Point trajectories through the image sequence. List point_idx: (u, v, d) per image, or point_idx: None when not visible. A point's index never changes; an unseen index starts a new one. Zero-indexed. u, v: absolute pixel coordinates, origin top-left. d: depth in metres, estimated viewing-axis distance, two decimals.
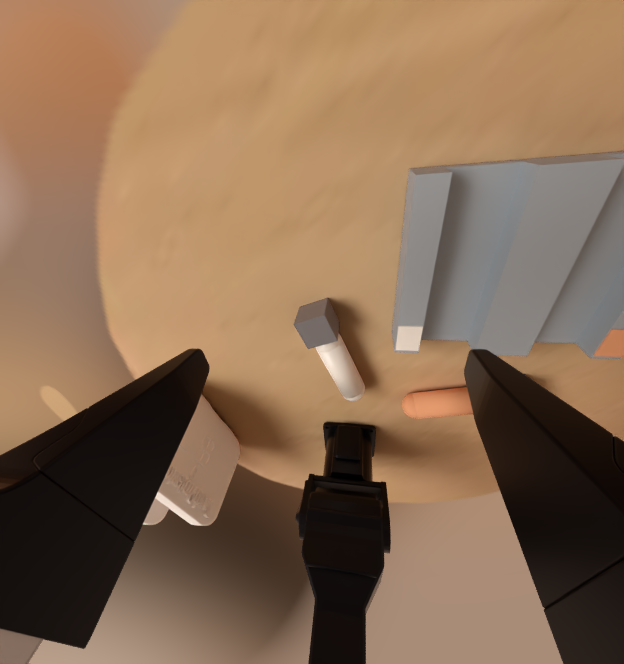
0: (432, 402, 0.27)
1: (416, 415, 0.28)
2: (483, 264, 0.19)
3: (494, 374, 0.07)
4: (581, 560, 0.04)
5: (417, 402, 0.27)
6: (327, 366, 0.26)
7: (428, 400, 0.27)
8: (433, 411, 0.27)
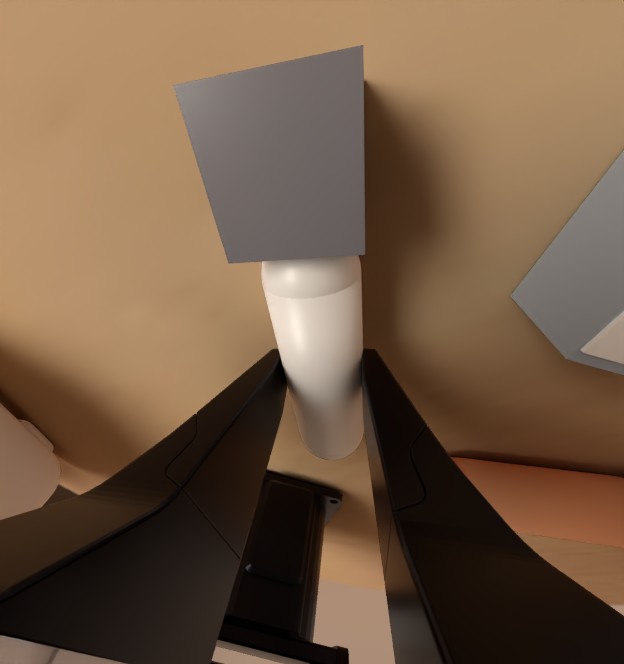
0: (517, 500, 0.11)
1: None
2: None
3: (365, 372, 0.07)
4: (385, 534, 0.05)
5: (479, 491, 0.11)
6: (285, 353, 0.08)
7: (507, 492, 0.11)
8: (514, 523, 0.11)
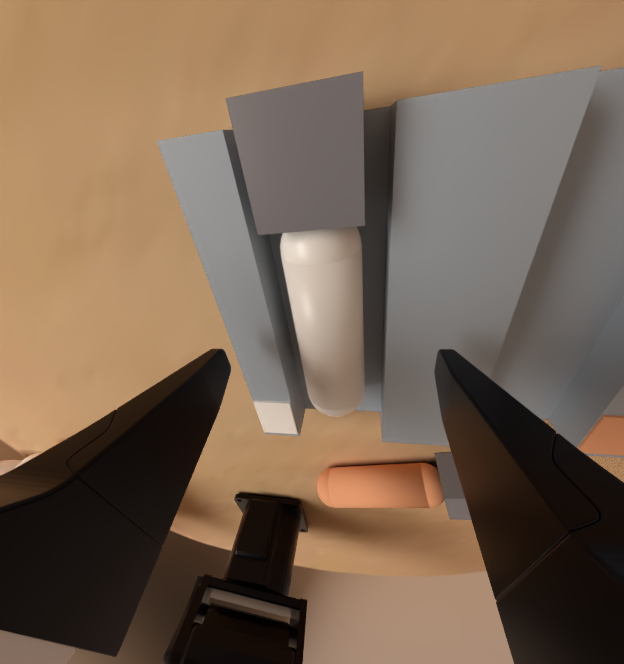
0: (351, 489, 0.19)
1: (333, 504, 0.19)
2: (371, 303, 0.11)
3: (456, 373, 0.07)
4: (521, 552, 0.05)
5: (332, 487, 0.19)
6: (299, 316, 0.09)
7: (346, 485, 0.19)
8: (354, 502, 0.18)
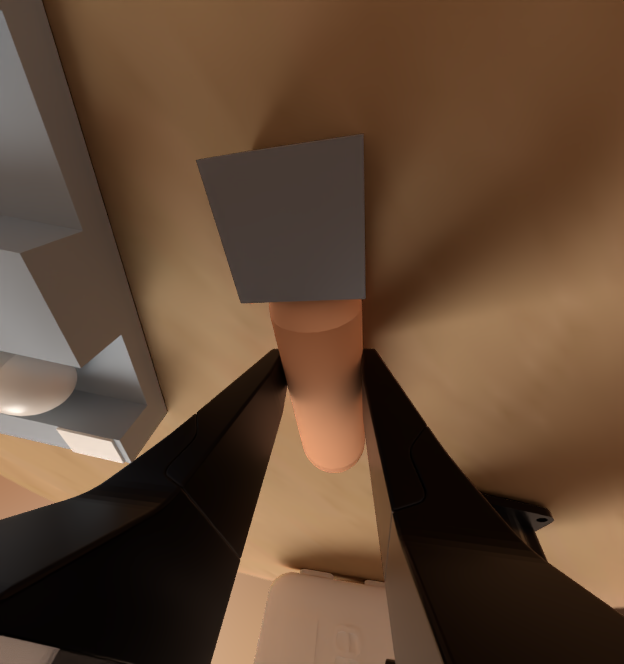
0: (298, 426, 0.10)
1: (331, 465, 0.10)
2: None
3: (365, 372, 0.07)
4: (385, 534, 0.05)
5: (302, 444, 0.11)
6: None
7: (298, 426, 0.10)
8: (316, 441, 0.10)
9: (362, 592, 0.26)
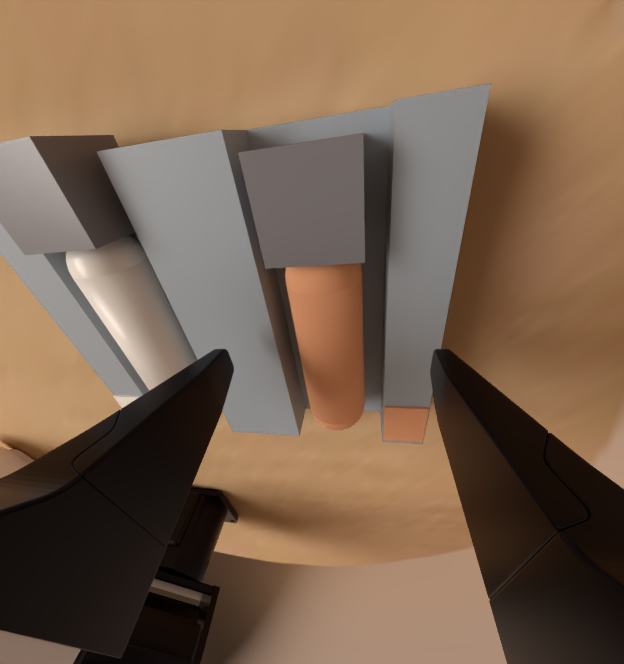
0: (307, 386, 0.12)
1: (335, 422, 0.12)
2: None
3: (450, 373, 0.07)
4: (513, 551, 0.05)
5: (310, 405, 0.13)
6: (102, 320, 0.11)
7: None
8: (322, 398, 0.11)
9: None
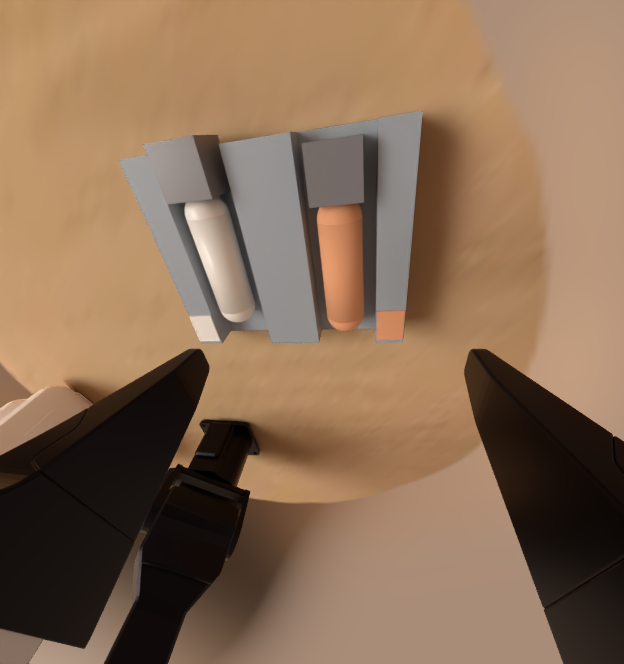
0: (326, 297, 0.18)
1: (344, 322, 0.18)
2: None
3: (494, 374, 0.07)
4: (581, 560, 0.04)
5: (327, 313, 0.19)
6: (199, 251, 0.17)
7: (326, 300, 0.18)
8: (337, 301, 0.17)
9: None
